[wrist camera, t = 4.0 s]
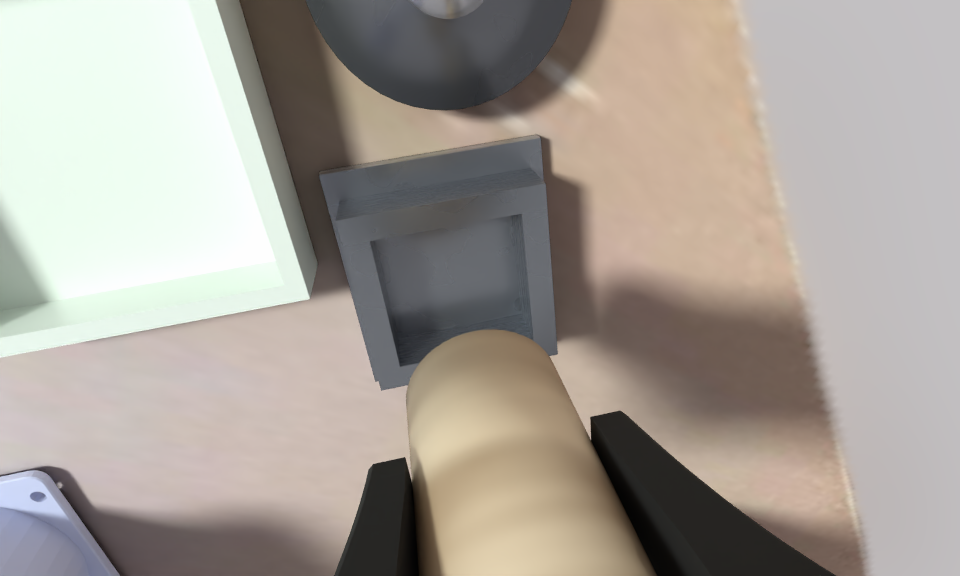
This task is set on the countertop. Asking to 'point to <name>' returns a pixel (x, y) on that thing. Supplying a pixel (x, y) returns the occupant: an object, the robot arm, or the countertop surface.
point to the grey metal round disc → (440, 45)
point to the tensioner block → (444, 249)
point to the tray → (138, 172)
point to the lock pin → (509, 468)
